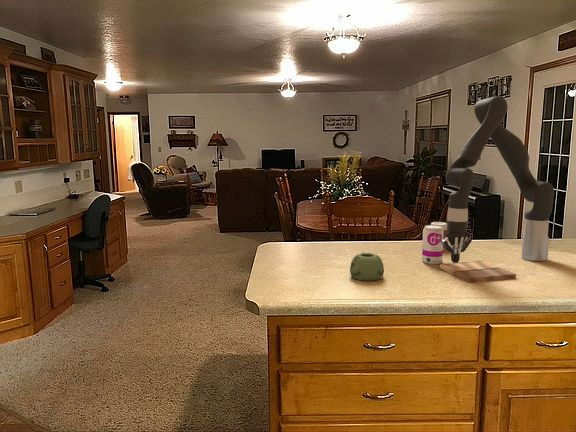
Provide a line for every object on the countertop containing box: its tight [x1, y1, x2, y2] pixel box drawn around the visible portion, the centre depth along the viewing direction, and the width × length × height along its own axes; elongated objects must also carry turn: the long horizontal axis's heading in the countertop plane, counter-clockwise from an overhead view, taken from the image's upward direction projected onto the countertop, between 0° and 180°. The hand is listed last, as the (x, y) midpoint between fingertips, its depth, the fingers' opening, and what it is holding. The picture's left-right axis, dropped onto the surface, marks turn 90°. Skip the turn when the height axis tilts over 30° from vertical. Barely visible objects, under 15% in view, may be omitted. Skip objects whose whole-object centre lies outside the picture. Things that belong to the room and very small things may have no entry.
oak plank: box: [439, 259, 500, 276], centre depth 189 cm, size 20×9×2 cm, turn 105°
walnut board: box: [453, 266, 517, 284], centre depth 180 cm, size 20×9×2 cm, turn 105°
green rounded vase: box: [349, 251, 385, 282], centre depth 182 cm, size 16×13×9 cm
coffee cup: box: [430, 221, 447, 251], centre depth 226 cm, size 9×9×12 cm
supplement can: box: [421, 224, 444, 265], centre depth 201 cm, size 8×8×15 cm
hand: (455, 262), depth 190 cm, fingers closed
